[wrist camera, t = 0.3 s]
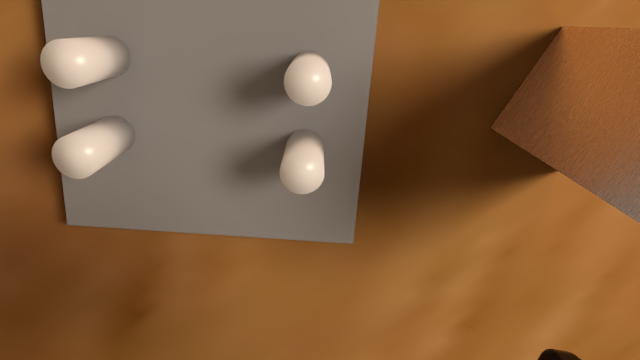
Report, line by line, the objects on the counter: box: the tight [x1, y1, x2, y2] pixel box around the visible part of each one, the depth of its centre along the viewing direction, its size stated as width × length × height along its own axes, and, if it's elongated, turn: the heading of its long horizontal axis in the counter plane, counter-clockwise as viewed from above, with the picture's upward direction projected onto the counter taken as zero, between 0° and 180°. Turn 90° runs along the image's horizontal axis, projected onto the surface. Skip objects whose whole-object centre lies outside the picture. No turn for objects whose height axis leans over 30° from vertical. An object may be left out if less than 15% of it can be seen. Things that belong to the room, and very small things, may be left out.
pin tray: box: [40, 0, 379, 244], centre depth 18 cm, size 12×13×5 cm
